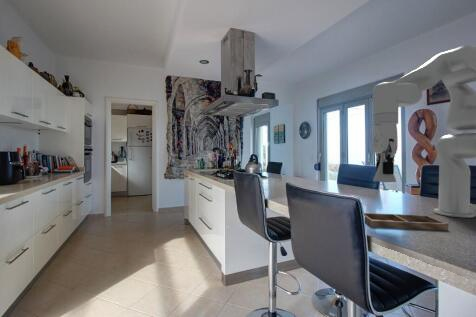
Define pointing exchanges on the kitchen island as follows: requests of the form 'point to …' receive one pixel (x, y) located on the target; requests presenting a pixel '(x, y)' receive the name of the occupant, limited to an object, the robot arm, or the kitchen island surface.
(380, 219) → the divider frame
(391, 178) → the flask
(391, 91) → the robot arm
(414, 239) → the kitchen island surface
